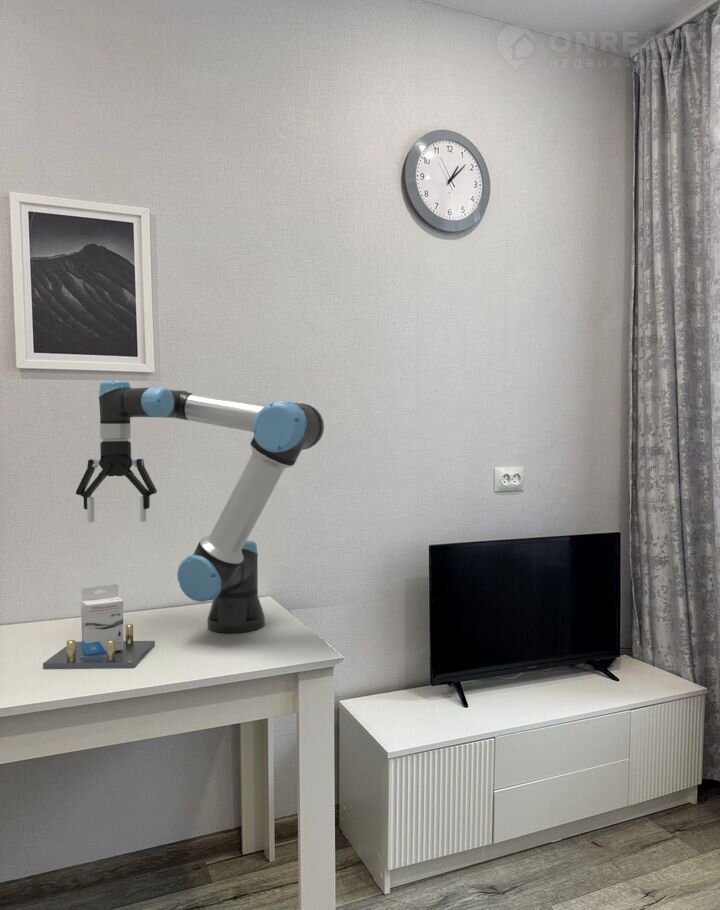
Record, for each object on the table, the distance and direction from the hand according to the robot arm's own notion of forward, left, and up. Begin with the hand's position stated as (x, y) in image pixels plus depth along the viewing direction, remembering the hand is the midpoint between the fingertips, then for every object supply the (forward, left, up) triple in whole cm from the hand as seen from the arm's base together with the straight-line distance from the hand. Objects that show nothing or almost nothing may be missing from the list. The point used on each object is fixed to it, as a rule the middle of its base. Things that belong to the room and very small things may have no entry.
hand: (117, 521), depth 181 cm
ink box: (-3, +21, -27) cm, 35 cm away
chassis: (-3, +21, -29) cm, 36 cm away
